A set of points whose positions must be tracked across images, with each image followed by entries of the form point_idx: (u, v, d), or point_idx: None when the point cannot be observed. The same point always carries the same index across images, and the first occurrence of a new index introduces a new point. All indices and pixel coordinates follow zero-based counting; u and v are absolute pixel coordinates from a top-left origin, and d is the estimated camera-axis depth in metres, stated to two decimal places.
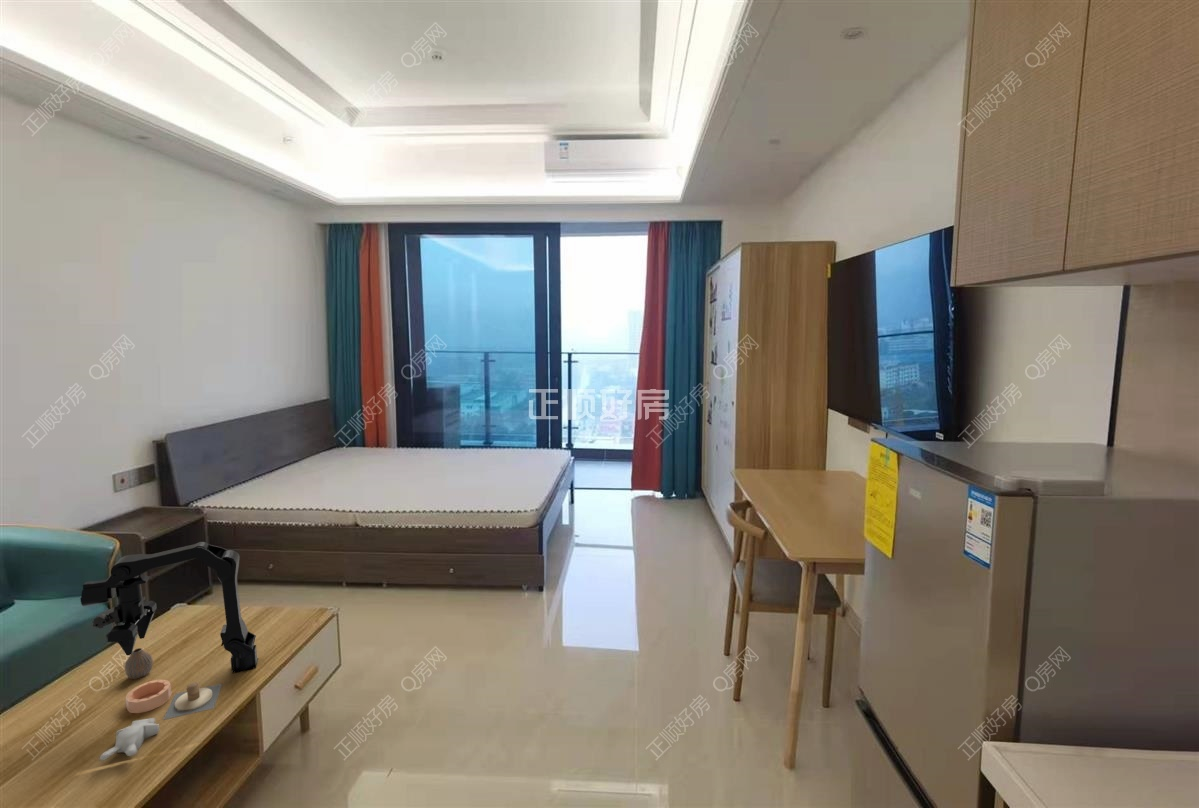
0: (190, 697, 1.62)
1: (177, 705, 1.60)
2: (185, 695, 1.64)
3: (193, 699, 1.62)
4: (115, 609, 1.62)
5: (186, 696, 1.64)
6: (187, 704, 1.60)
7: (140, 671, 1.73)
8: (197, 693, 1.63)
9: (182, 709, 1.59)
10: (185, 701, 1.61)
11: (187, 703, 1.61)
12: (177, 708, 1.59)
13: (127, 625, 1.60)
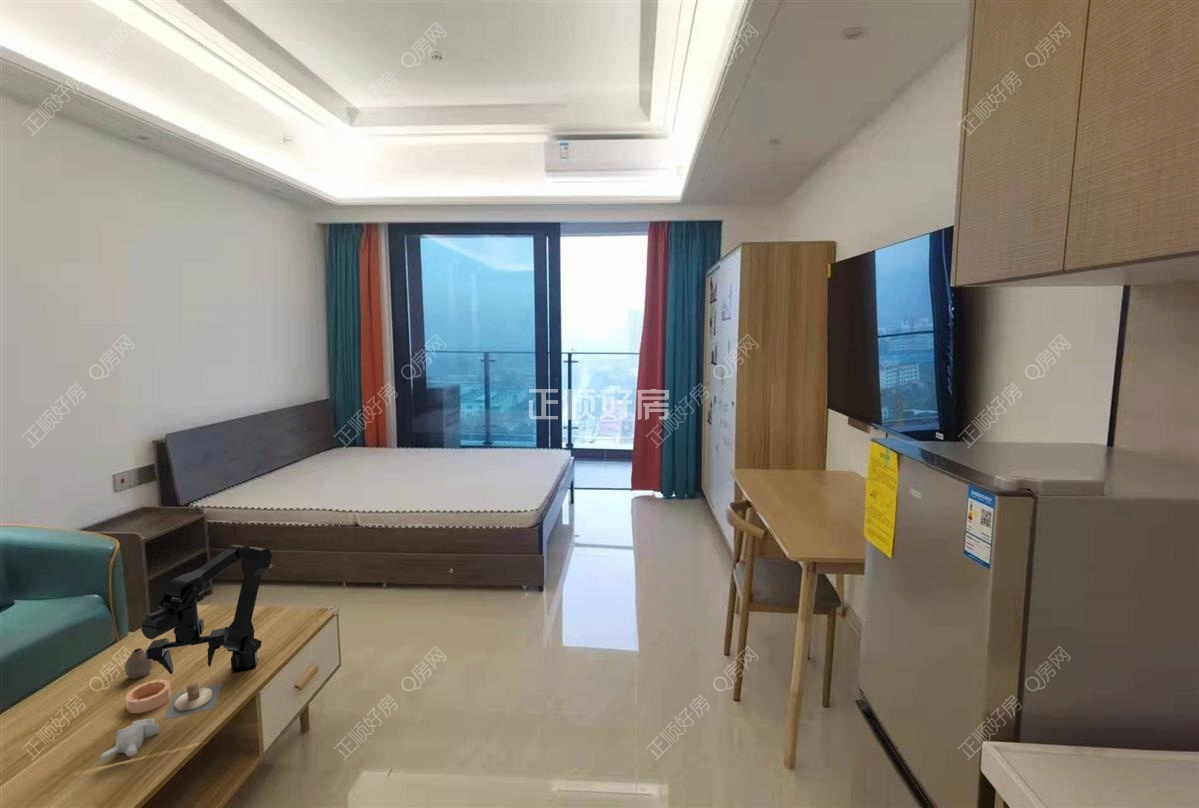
0: (190, 697, 1.62)
1: (177, 705, 1.60)
2: (185, 695, 1.64)
3: (193, 699, 1.62)
4: None
5: (186, 696, 1.64)
6: (187, 704, 1.60)
7: (140, 671, 1.73)
8: (197, 693, 1.63)
9: (182, 709, 1.59)
10: (185, 701, 1.61)
11: (187, 703, 1.61)
12: (177, 708, 1.59)
13: (159, 644, 1.57)
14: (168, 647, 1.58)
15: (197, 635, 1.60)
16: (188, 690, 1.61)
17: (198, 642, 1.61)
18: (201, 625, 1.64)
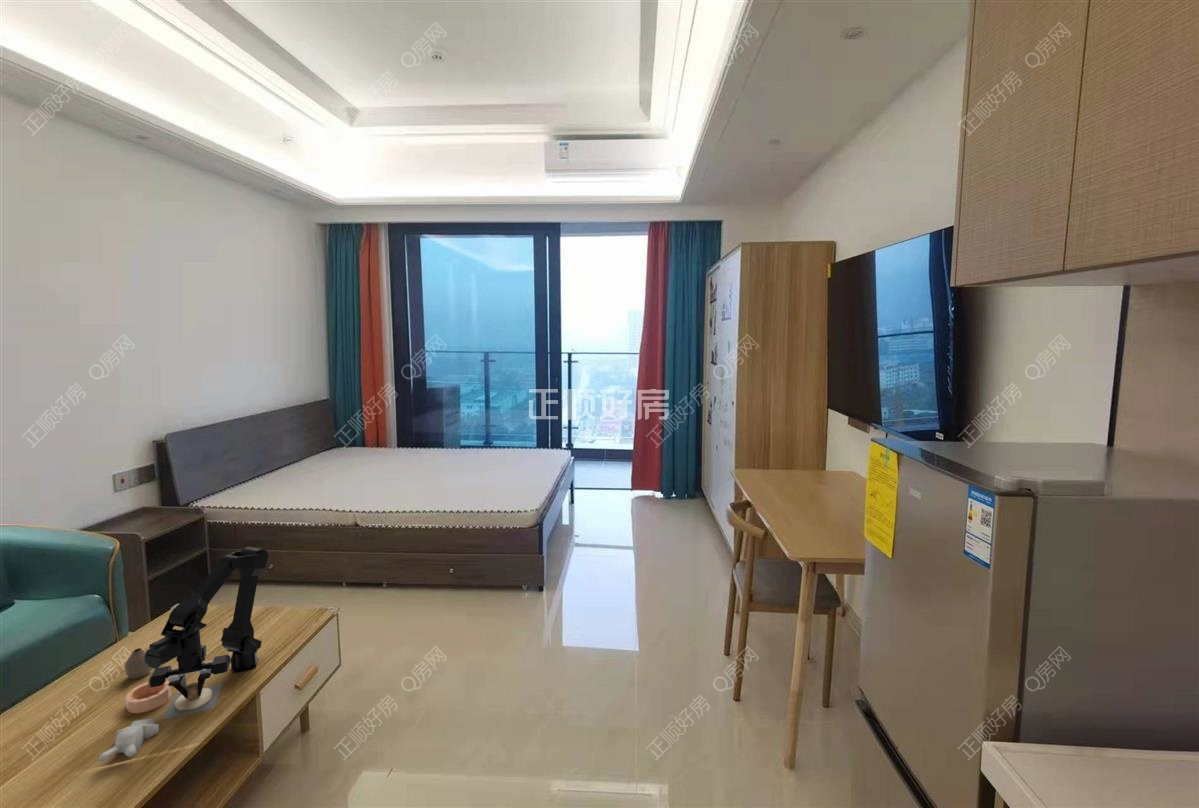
0: (190, 697, 1.62)
1: (178, 705, 1.60)
2: None
3: (193, 699, 1.62)
4: None
5: None
6: (187, 704, 1.60)
7: (140, 671, 1.73)
8: (197, 693, 1.63)
9: (182, 709, 1.59)
10: (185, 701, 1.61)
11: (187, 703, 1.61)
12: (177, 708, 1.59)
13: (162, 672, 1.58)
14: (171, 675, 1.59)
15: (200, 662, 1.62)
16: (188, 690, 1.61)
17: None
18: (204, 652, 1.65)
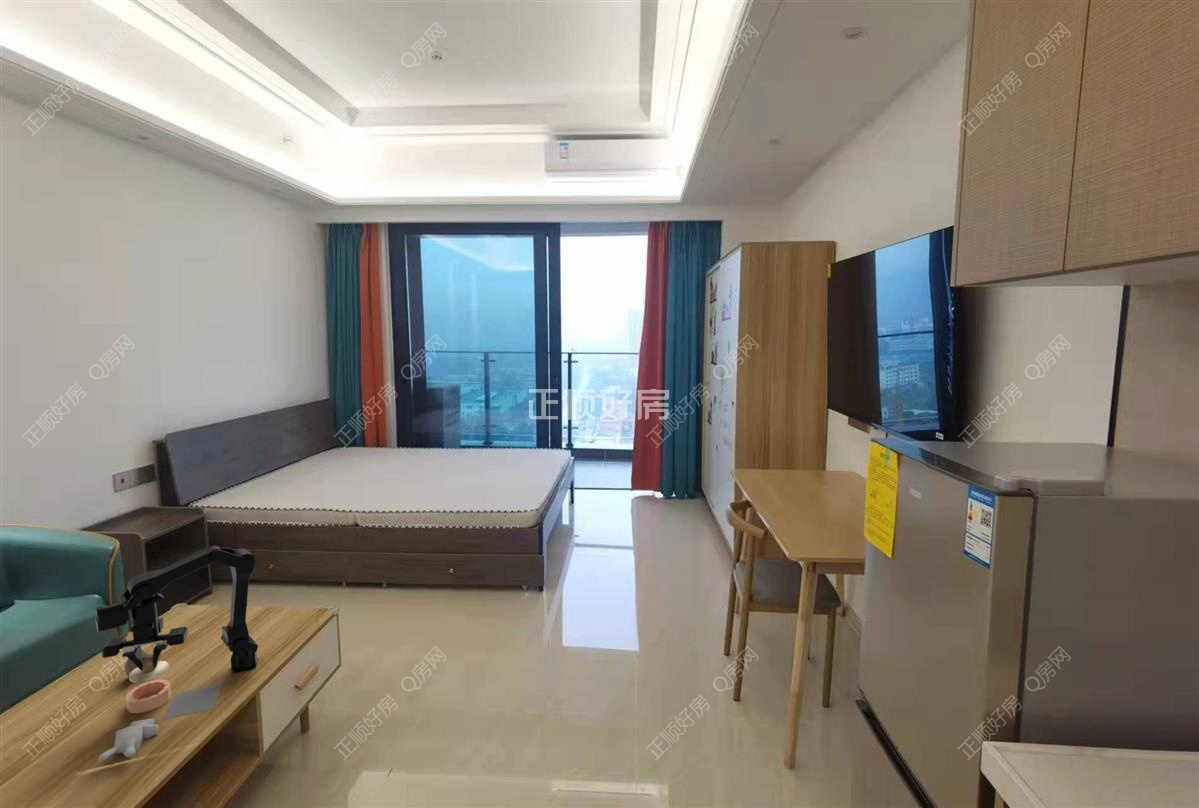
0: (145, 669, 1.59)
1: (132, 677, 1.57)
2: None
3: (148, 671, 1.60)
4: None
5: None
6: (142, 676, 1.58)
7: None
8: (152, 665, 1.61)
9: (136, 680, 1.57)
10: (140, 673, 1.59)
11: (142, 675, 1.58)
12: (131, 680, 1.57)
13: (116, 643, 1.56)
14: (125, 645, 1.57)
15: (155, 633, 1.60)
16: (143, 662, 1.59)
17: None
18: (160, 624, 1.63)
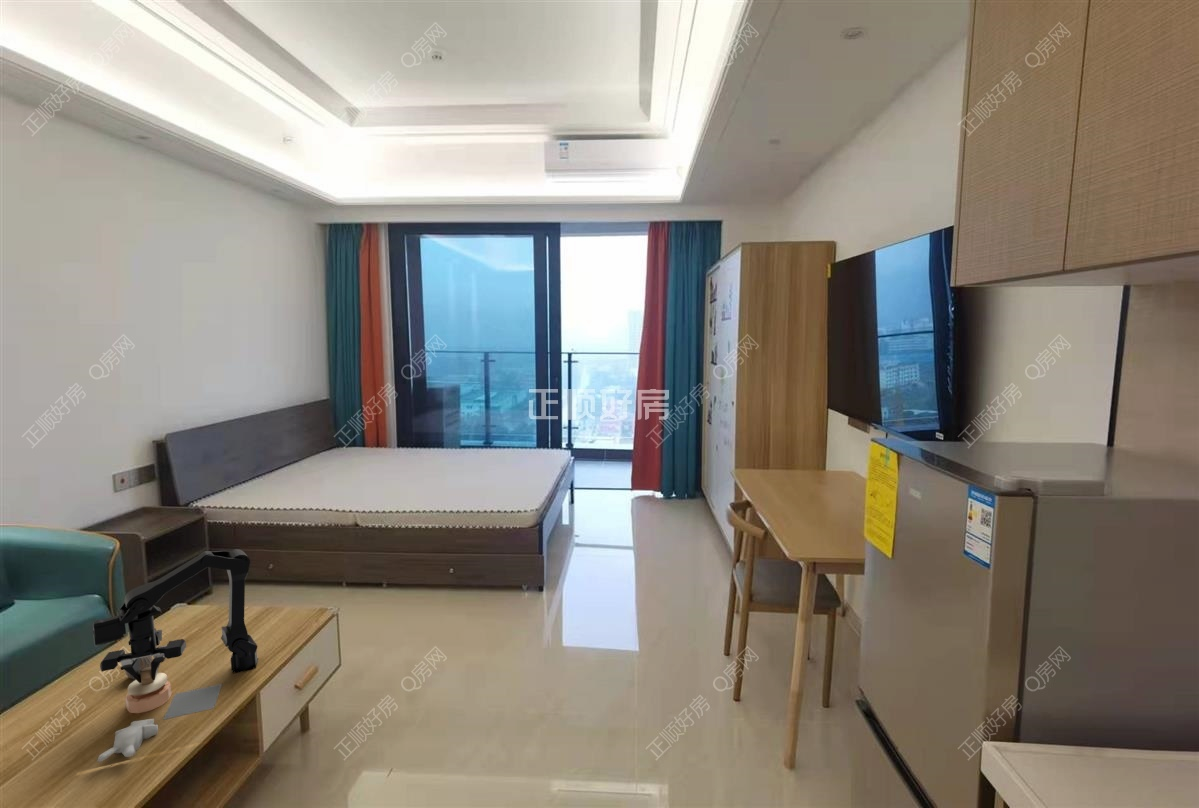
0: (143, 681, 1.60)
1: (130, 690, 1.59)
2: None
3: (147, 683, 1.61)
4: None
5: None
6: (140, 688, 1.59)
7: None
8: (151, 677, 1.62)
9: (135, 693, 1.58)
10: (138, 685, 1.60)
11: (140, 688, 1.59)
12: (130, 692, 1.58)
13: (114, 656, 1.57)
14: (123, 659, 1.58)
15: (153, 646, 1.61)
16: (141, 674, 1.60)
17: None
18: (158, 636, 1.64)
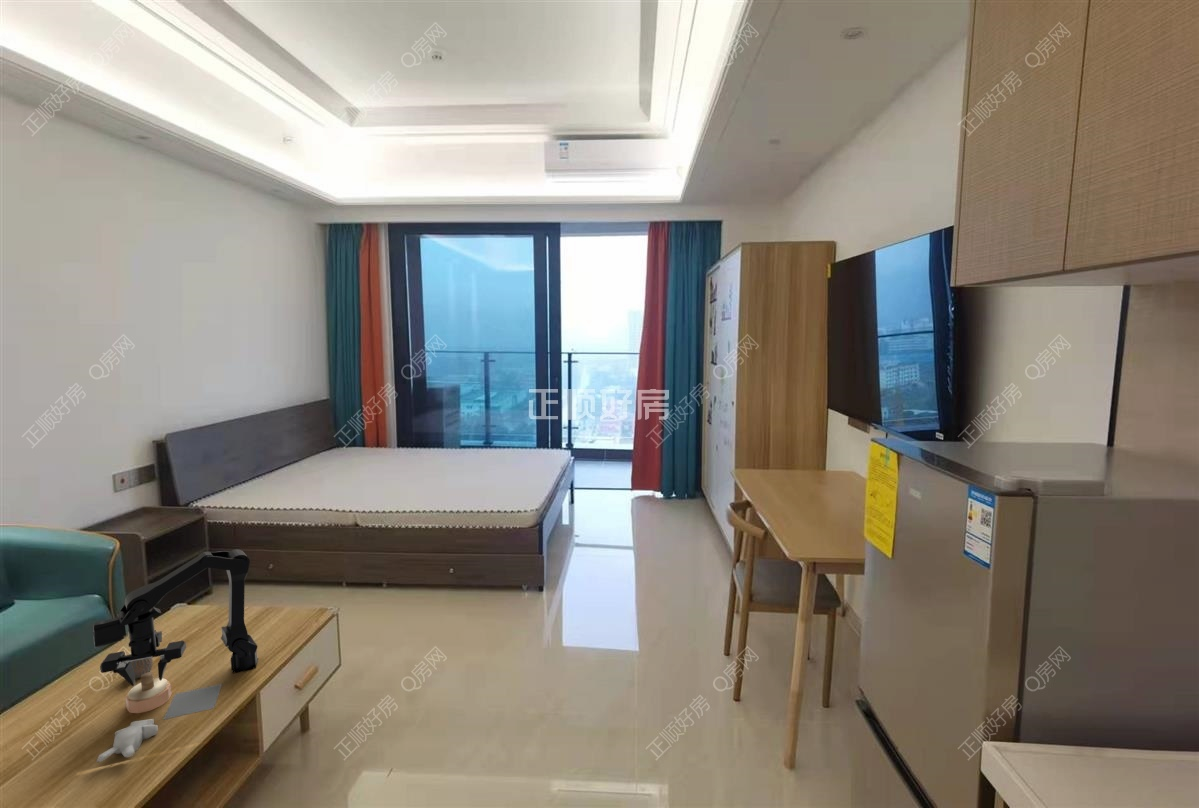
0: (144, 687, 1.61)
1: (131, 695, 1.59)
2: (139, 685, 1.63)
3: (147, 689, 1.61)
4: None
5: (140, 686, 1.63)
6: (141, 694, 1.59)
7: (140, 671, 1.73)
8: (151, 683, 1.62)
9: (135, 699, 1.58)
10: (139, 691, 1.61)
11: (141, 693, 1.60)
12: (130, 698, 1.58)
13: (114, 658, 1.57)
14: (123, 660, 1.58)
15: (153, 648, 1.61)
16: (142, 680, 1.60)
17: (154, 655, 1.62)
18: (158, 638, 1.64)
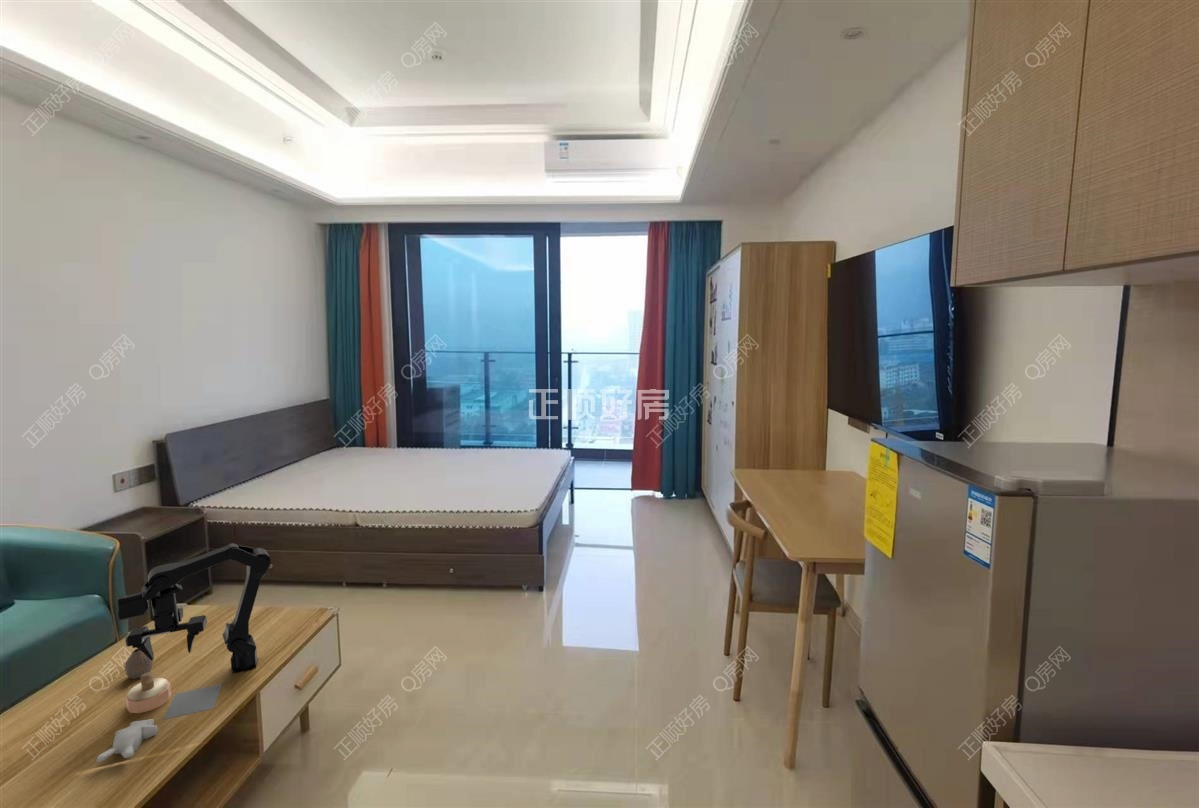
0: (144, 687, 1.61)
1: (131, 695, 1.59)
2: (139, 685, 1.63)
3: (147, 689, 1.61)
4: None
5: (140, 686, 1.63)
6: (141, 694, 1.59)
7: (140, 671, 1.73)
8: (151, 683, 1.62)
9: (135, 699, 1.58)
10: (139, 691, 1.61)
11: (141, 693, 1.60)
12: (130, 698, 1.58)
13: (139, 632, 1.62)
14: (148, 634, 1.63)
15: (176, 622, 1.65)
16: (142, 680, 1.60)
17: (177, 629, 1.66)
18: (180, 613, 1.69)
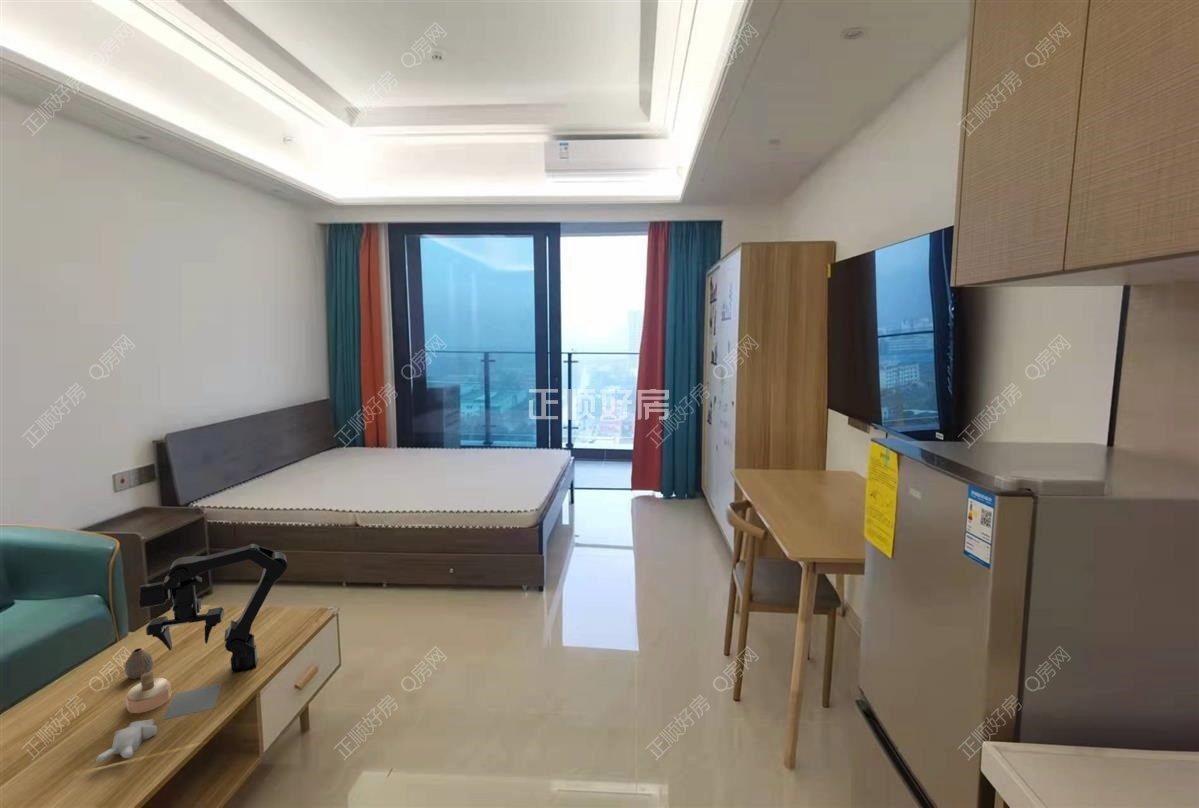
0: (144, 687, 1.61)
1: (131, 695, 1.59)
2: (139, 685, 1.63)
3: (147, 689, 1.61)
4: None
5: (140, 686, 1.63)
6: (141, 694, 1.59)
7: (140, 671, 1.73)
8: (151, 683, 1.62)
9: (135, 699, 1.58)
10: (139, 691, 1.61)
11: (141, 693, 1.60)
12: (130, 698, 1.58)
13: (159, 622, 1.66)
14: (167, 624, 1.67)
15: (195, 613, 1.70)
16: (142, 680, 1.60)
17: (196, 620, 1.71)
18: (198, 604, 1.73)
